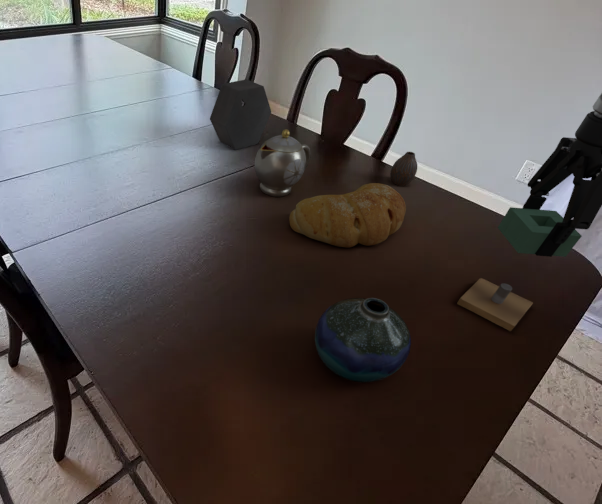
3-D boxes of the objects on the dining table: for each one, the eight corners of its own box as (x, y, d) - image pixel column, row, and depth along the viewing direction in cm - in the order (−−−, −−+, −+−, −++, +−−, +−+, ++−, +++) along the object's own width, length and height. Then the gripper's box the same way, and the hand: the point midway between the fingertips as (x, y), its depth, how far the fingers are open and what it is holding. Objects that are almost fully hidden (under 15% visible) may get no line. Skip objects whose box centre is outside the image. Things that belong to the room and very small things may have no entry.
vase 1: (373, 330, 85) (400, 274, 75) (410, 393, 74) (446, 337, 64) (297, 333, 83) (314, 277, 73) (323, 399, 72) (347, 342, 63)
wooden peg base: (477, 282, 97) (489, 264, 94) (529, 308, 92) (544, 289, 88) (456, 303, 92) (468, 284, 88) (510, 331, 87) (525, 312, 83)
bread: (326, 262, 100) (338, 223, 93) (277, 220, 112) (285, 182, 105) (426, 234, 111) (445, 197, 104) (372, 198, 123) (385, 163, 116)
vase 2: (383, 182, 131) (394, 152, 125) (393, 175, 135) (404, 146, 128) (405, 190, 128) (417, 160, 121) (414, 183, 131) (427, 153, 125)
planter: (259, 117, 150) (241, 63, 132) (275, 125, 146) (258, 69, 128) (225, 153, 150) (202, 104, 132) (240, 162, 146) (219, 112, 128)
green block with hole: (541, 231, 88) (556, 210, 85) (565, 256, 82) (582, 235, 79) (497, 227, 88) (509, 207, 85) (517, 253, 82) (532, 232, 79)
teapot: (268, 207, 116) (280, 144, 105) (239, 185, 124) (247, 124, 112) (319, 193, 123) (335, 133, 112) (288, 173, 131) (300, 115, 120)
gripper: (556, 93, 76) (488, 211, 92) (638, 141, 61) (538, 272, 77) (599, 96, 76) (523, 213, 92) (691, 146, 61) (581, 276, 77)
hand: (530, 240), depth 85 cm, fingers closed on green block with hole, 9 cm apart
